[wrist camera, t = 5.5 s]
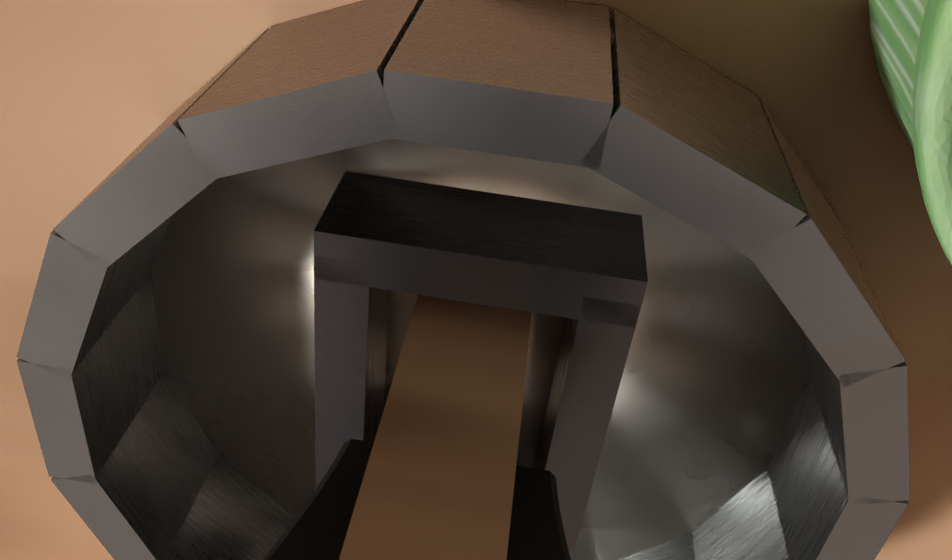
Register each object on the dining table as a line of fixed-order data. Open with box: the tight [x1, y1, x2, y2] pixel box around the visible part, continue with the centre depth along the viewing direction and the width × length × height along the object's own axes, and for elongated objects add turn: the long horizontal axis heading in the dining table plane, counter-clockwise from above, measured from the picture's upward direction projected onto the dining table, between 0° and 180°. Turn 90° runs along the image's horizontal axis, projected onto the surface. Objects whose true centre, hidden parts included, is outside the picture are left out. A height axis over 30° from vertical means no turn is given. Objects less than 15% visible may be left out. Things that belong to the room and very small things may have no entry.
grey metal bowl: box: [17, 0, 910, 560], centre depth 14 cm, size 13×13×4 cm
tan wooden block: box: [339, 295, 532, 560], centre depth 12 cm, size 4×2×6 cm, turn 174°
